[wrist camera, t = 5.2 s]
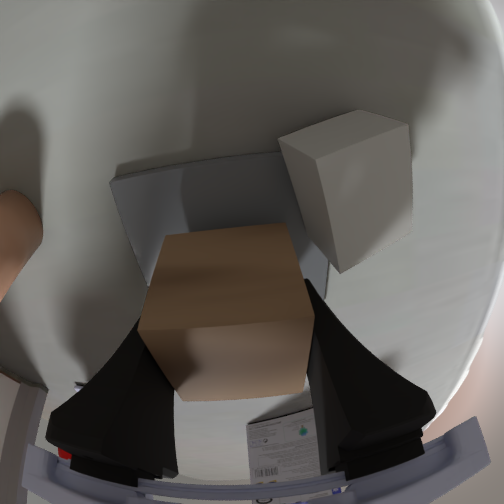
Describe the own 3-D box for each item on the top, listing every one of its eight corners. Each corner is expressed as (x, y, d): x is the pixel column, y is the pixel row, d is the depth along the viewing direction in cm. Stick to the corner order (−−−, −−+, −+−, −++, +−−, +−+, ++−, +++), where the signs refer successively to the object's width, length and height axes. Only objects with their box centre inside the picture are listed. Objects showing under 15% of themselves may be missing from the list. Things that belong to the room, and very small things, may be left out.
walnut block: (285, 306, 14) (302, 392, 10) (190, 315, 14) (183, 401, 10) (285, 222, 11) (314, 315, 7) (165, 235, 11) (137, 330, 7)
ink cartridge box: (262, 432, 34) (271, 520, 22) (243, 424, 31) (249, 524, 19) (328, 415, 31) (346, 509, 20) (316, 405, 28) (335, 515, 17)
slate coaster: (320, 304, 17) (322, 311, 17) (168, 320, 18) (166, 327, 17) (329, 148, 12) (334, 152, 11) (113, 177, 12) (109, 182, 11)
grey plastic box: (373, 202, 13) (411, 231, 11) (307, 235, 13) (340, 273, 11) (358, 109, 10) (408, 123, 8) (277, 138, 10) (315, 159, 8)
